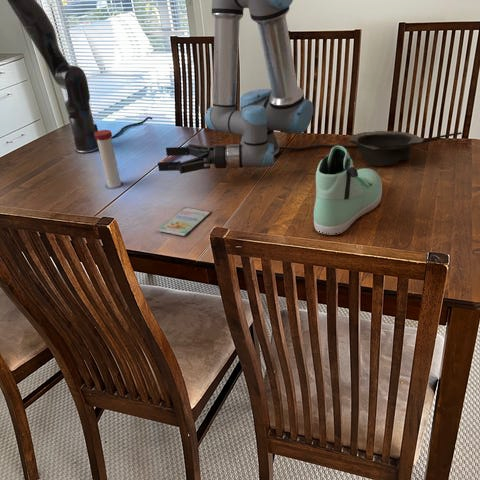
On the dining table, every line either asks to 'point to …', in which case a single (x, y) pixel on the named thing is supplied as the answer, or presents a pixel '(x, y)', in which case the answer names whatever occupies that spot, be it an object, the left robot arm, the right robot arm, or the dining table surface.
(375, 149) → the stone bowl
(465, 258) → the dining table surface
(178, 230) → the baking ingredient package
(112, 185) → the jar
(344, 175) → the sneaker
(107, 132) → the lid
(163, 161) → the candy cane
